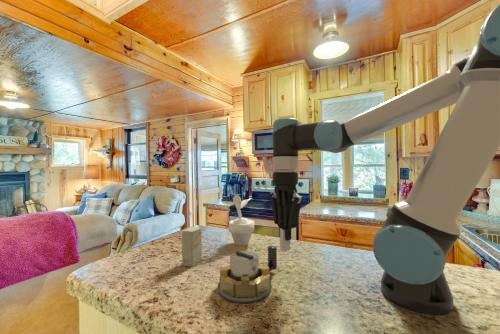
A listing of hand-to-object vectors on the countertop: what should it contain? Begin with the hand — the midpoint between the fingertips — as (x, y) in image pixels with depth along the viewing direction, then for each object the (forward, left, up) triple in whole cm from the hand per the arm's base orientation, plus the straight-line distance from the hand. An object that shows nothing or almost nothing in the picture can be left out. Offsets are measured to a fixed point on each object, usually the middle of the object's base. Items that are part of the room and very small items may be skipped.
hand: (285, 249), depth 68 cm
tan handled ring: (+6, +7, -8) cm, 12 cm away
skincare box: (+32, +11, -9) cm, 35 cm away
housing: (+6, +11, -9) cm, 16 cm away
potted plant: (+33, -16, -9) cm, 38 cm away
